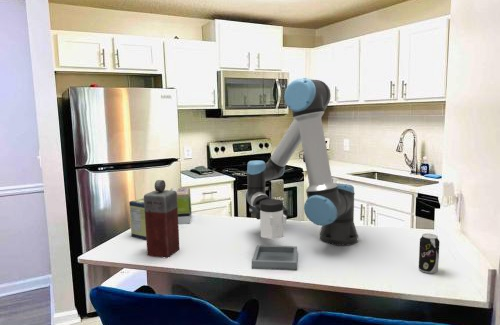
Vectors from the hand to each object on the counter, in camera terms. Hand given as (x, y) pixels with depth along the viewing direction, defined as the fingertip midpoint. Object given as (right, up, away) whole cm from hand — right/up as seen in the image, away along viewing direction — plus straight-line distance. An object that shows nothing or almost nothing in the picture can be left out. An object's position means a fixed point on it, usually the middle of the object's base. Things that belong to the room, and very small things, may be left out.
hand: (278, 221), depth 126 cm
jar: (-2, -6, +6) cm, 9 cm away
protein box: (-53, -12, +40) cm, 67 cm away
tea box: (-44, -9, +59) cm, 74 cm away
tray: (-1, -15, +7) cm, 17 cm away
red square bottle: (-44, -15, +17) cm, 49 cm away
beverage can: (+48, -16, -4) cm, 51 cm away
